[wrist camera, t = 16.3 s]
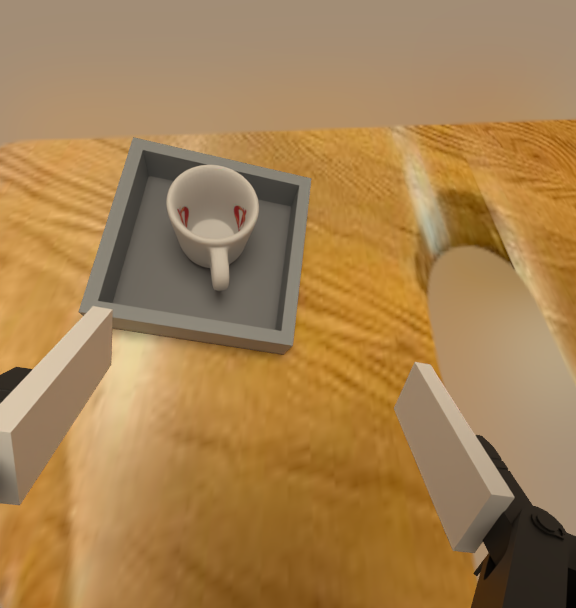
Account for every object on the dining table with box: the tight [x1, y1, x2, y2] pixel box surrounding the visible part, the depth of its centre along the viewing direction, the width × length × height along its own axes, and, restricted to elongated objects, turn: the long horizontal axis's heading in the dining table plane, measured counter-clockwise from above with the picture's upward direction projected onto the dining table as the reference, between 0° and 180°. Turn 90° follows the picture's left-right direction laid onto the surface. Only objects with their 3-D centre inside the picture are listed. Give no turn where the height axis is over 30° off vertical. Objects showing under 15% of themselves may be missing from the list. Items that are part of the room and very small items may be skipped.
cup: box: [166, 165, 259, 291], centre depth 36 cm, size 11×8×8 cm
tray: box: [79, 137, 311, 354], centre depth 38 cm, size 18×18×4 cm
